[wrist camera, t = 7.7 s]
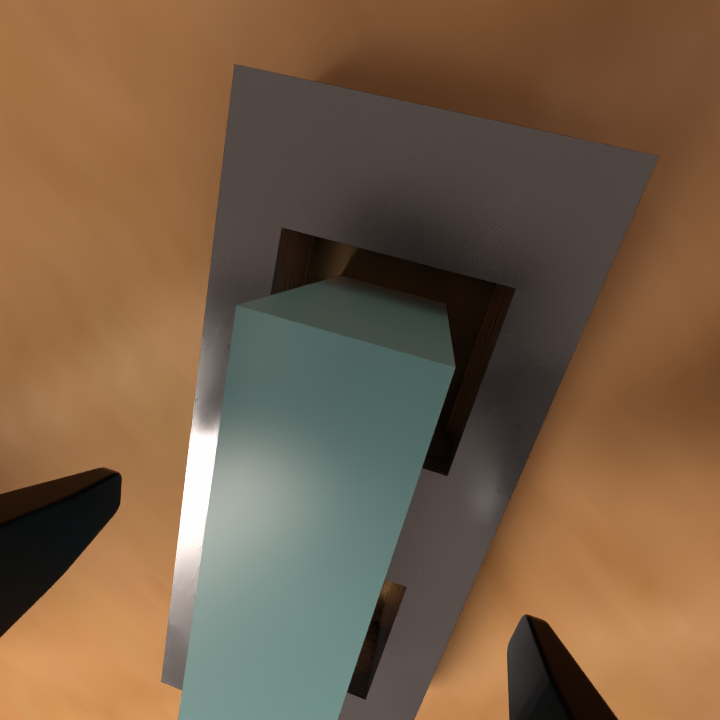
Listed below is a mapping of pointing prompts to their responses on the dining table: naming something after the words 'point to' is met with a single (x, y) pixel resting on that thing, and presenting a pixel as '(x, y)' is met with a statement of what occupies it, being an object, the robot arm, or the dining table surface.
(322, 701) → the teal u-shaped block
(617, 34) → the dining table surface
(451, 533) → the plate with rectangular holes
